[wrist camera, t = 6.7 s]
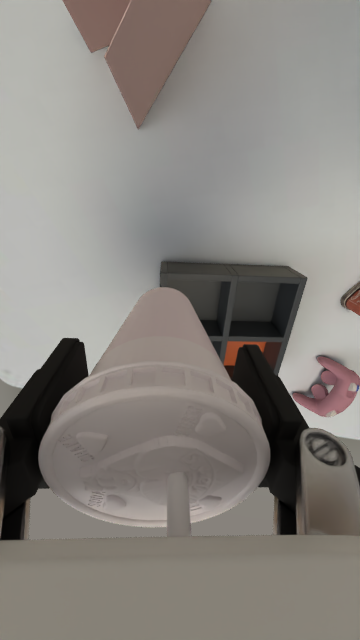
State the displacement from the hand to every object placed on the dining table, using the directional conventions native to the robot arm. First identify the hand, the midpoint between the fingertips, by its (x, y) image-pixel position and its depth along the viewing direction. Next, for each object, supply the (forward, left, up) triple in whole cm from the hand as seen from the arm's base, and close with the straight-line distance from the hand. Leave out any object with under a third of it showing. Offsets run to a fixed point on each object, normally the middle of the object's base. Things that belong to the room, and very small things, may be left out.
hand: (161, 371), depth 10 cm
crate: (-8, +10, -23) cm, 27 cm away
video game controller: (-27, +21, -24) cm, 41 cm away
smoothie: (0, 0, -6) cm, 6 cm away
